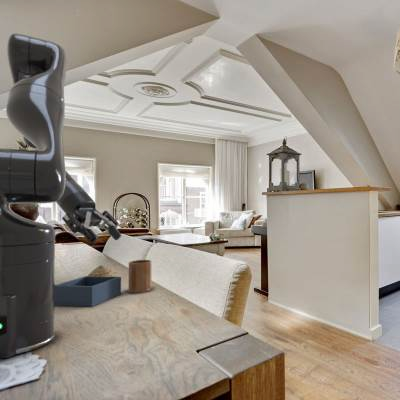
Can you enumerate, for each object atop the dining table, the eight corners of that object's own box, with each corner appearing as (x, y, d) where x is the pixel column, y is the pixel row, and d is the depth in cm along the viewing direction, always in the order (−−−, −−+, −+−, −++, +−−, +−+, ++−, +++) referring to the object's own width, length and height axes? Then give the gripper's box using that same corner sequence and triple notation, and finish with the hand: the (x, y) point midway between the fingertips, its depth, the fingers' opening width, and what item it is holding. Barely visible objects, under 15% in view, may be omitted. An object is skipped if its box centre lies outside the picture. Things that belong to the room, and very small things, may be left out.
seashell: (123, 269, 104) (108, 264, 97) (119, 286, 102) (103, 282, 94) (100, 269, 105) (83, 263, 97) (95, 286, 102) (77, 282, 95)
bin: (92, 306, 73) (92, 286, 73) (51, 305, 74) (52, 285, 74) (120, 294, 83) (121, 276, 83) (85, 293, 84) (85, 276, 84)
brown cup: (143, 293, 84) (143, 263, 84) (123, 292, 84) (123, 263, 84) (155, 287, 89) (155, 259, 89) (136, 287, 90) (136, 259, 90)
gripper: (58, 189, 83) (95, 232, 81) (101, 191, 97) (133, 228, 95) (41, 209, 84) (77, 252, 82) (86, 208, 98) (118, 245, 96)
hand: (107, 239), depth 89 cm, fingers open, 8 cm apart
